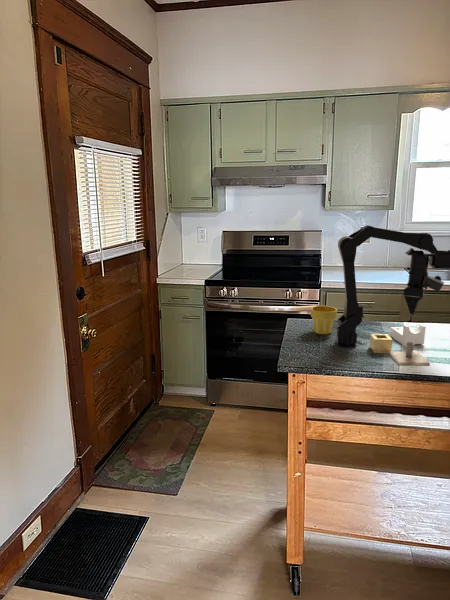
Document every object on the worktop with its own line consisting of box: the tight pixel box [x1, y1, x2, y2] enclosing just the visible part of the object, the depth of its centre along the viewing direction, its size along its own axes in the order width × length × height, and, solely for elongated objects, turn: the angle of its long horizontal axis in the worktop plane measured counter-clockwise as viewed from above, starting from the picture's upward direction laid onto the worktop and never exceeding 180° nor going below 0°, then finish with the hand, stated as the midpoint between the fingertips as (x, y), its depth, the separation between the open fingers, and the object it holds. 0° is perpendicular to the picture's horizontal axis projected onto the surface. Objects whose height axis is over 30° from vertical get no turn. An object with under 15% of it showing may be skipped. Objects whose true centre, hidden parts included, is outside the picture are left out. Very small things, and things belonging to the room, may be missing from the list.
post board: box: [388, 342, 431, 366], centre depth 151 cm, size 10×10×6 cm
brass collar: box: [368, 333, 393, 354], centre depth 160 cm, size 6×6×5 cm
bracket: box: [389, 324, 426, 347], centre depth 170 cm, size 13×7×8 cm, turn 4°
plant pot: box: [310, 305, 338, 335], centre depth 181 cm, size 10×10×10 cm
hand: (413, 311), depth 161 cm, fingers open, 9 cm apart
